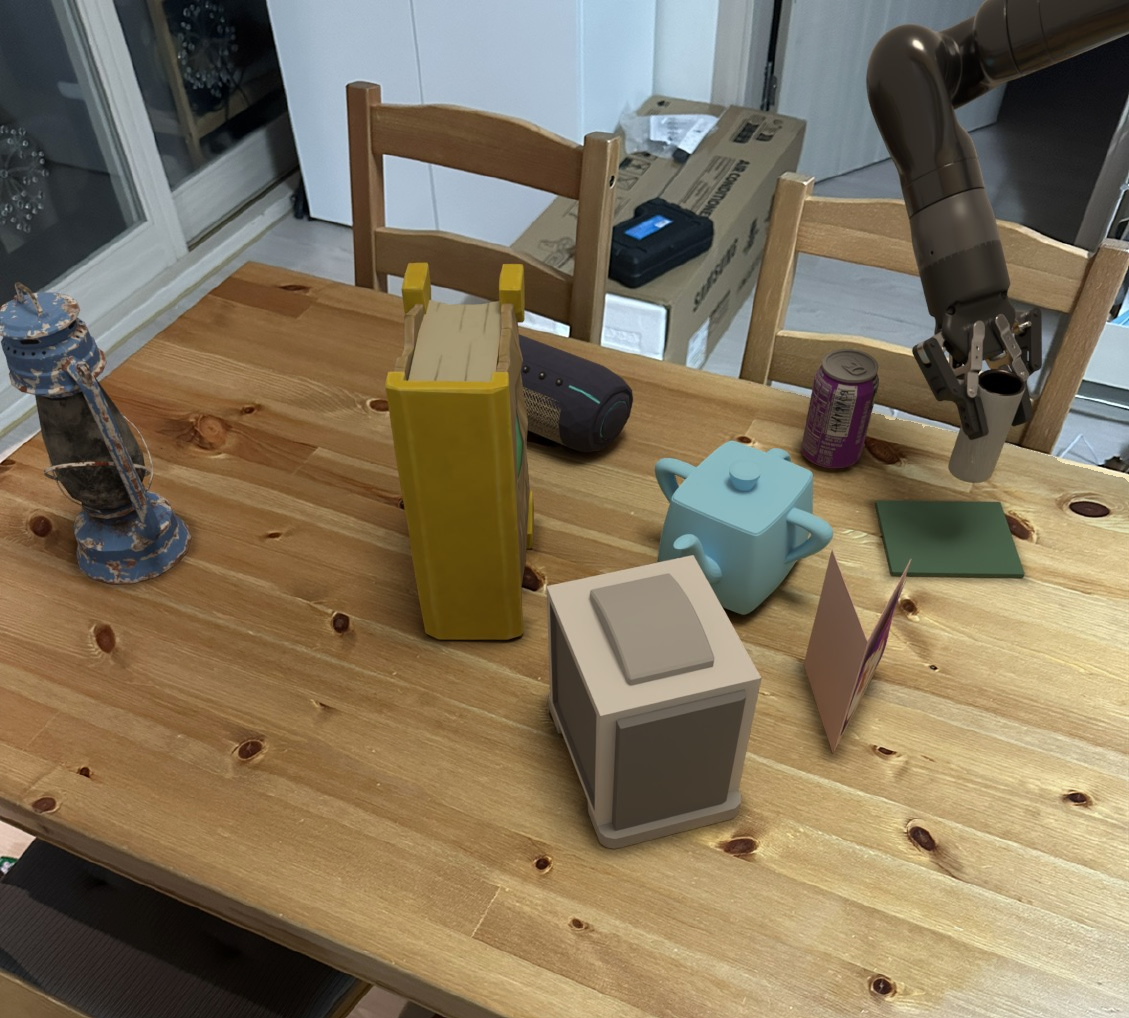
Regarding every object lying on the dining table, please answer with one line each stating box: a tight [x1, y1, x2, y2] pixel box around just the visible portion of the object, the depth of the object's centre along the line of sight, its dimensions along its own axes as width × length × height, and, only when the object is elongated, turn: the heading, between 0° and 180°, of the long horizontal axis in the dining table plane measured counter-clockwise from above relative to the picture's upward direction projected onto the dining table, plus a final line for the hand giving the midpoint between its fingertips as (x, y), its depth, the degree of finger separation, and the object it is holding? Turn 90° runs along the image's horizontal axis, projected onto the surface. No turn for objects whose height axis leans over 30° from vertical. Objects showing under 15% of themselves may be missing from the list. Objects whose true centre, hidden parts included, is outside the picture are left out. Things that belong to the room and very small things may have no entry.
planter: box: [947, 368, 1025, 484], centre depth 106 cm, size 4×4×10 cm
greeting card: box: [803, 548, 911, 754], centre depth 97 cm, size 11×7×15 cm, turn 151°
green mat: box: [874, 499, 1026, 579], centre depth 117 cm, size 14×12×1 cm
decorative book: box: [384, 262, 535, 640], centre depth 102 cm, size 20×11×30 cm, turn 177°
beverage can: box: [800, 348, 880, 469], centre depth 122 cm, size 7×7×12 cm
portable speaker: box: [519, 333, 634, 453], centre depth 127 cm, size 25×10×10 cm, turn 55°
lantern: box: [0, 281, 193, 585], centre depth 106 cm, size 15×12×30 cm
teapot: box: [654, 440, 834, 616], centre depth 108 cm, size 18×16×14 cm
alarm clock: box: [546, 555, 762, 850], centre depth 92 cm, size 18×13×18 cm
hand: (1000, 429), depth 104 cm, fingers closed on planter, 4 cm apart
